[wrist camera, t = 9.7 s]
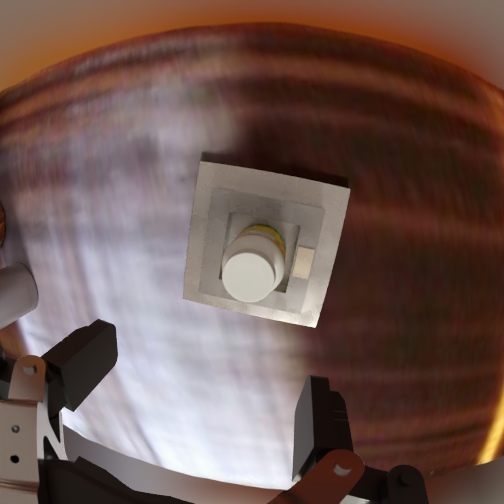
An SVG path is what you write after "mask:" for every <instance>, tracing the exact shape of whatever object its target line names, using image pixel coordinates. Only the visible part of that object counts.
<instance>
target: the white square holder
mask: <svg viewBox="0 0 504 504" xmlns="http://www.w3.org/2000/svg"><path fill="white" fill-rule="evenodd" d="M349 194H350V189H348V188H344V187H339V186H335V185H331V184H326V183H322V182H317V181H313V180H308V179H303V178H299V177H294V176H289V175H283V174H278V173H273V172H267V171H262V170H256V169H250V168H244V167H237V166H231V165H224V164H217V163H210V162H203V161H200V166H199V172H198V178H197V185H196V191H195V198H194V205H193V212H192V219H191V227H190V235H189V243H188V251H187V260H186V270H185V279H184V290H183V299H186V300H190V301H194V302H198V303H202V304H206V305H210V306H214V307H219V308H223V309H227V310H232V311H236V312H240V313H245V314H250V315H254V316H259V317H264V318H268V319H273V320H278V321H283V322H288V323H294V324H299V325H304V326H310V327H315V328H316V325H317V321H318V318H319V315H320V311H321V308H322V304H323V301H324V297H325V294H326V290H327V287H328V283H329V279H330V276H331V272H332V268H333V264H334V260H335V256H336V252H337V248H338V244H339V240H340V236H341V231H342V227H343V222H344V218H345V213H346V209H347V204H348V199H349ZM254 224H266V225H269V226H272V227H274V228H275V229H276V230H278V231H279V233H280V234H281V235H282V237H283V239H284V242H285V245H286V258H285V270H284V275H283V278H282V280H281V282H280V283H279V285H278V286H277V287H276V288H275V289H274V290H273V291H271V292H270V293H269V294H268V295H267V296H266V297H265V298H263V299H262V300H259V301H256V302H243V301H240V300H237V299H236V298H234V297H233V296H231V295H230V294H229V293H228V291H227V290H226V288H225V287H224V284H223V281H222V258H223V255H224V252H225V250H226V249H227V247H228V246H229V245H230V244H231V242H232V241H233V240H234V239H235V238H236V237H237V236H238V235H239V234H240V233H241V232H242V231H243V230H244V229H245V228H247V227H249V226H251V225H254Z"/></svg>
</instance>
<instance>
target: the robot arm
mask: <svg viewBox="0 0 504 504" xmlns="http://www.w3.org/2000/svg"><path fill="white" fill-rule="evenodd" d="M37 303H38V294H37V288H36V285H35V282H34V280H33V277H32V275H31V274H30V272H29V271H28V269H27V268H26V267H25V266H24V265H23V264H21V263H15V264H12V265H10V266H7V267H5V268H2V269H0V330H1V329H2V328H4V327H6V326H7V325H9V324H10V323H12V322H14V321H15V320H17V319H19V318H20V317H22V316H24V315H25V314H27V313H29V312H30V311H32V310H34V309H35V308H36V306H37ZM117 357H118V350H117V338H116V327H115V325H113V324H111V323H108V322H106V321H103V320H100V319H97V320H96V321H94V322H93V323H92V324H91V325H89V326H85V327H82V328H79V329H76V330H75V331H73V332H72V333H71V334H70V335H68V337H66V338H64V339H63V340H62V342H61V341H60V342H59V343H58V344H57V345H55V346H54V347H53V348H51V349H50V350H49V351H48V352H46V353H45V354H44V355H43V356H41V357H38V356H35V355H27V356H23V357H21V358H19V359H18V360H14V359H11V358H8V357H5V355H4V352H3V349H2V347H1V346H0V504H194V503H190V502H187V501H183V500H180V499H177V498H173V497H171V496H164V495H157V494H150V493H145V492H139V491H134V490H132V489H131V488H129V487H127V486H126V485H125V484H123V483H122V482H121V481H119V480H118V479H117V478H115V477H114V476H113V475H111V474H110V473H109V472H107V471H106V470H105V469H103V468H101V467H99V466H97V465H95V464H93V463H91V462H89V461H87V460H86V459H84V458H82V457H80V456H79V457H78V458H77V460H76V461H75V462H74V461H69V460H68V459H67V456H66V453H65V449H64V440H63V427H62V413H61V409H62V408H63V407H66V408H67V409H69V410H71V411H73V412H74V411H75V410H76V409H77V407H78V406H79V405H80V404H81V403H82V402H83V401H84V399H85V398H86V397H87V396H88V395H89V394H90V393H91V392H92V390H93V389H94V388H95V387H96V386H97V385H98V384H99V383H100V382H101V380H102V379H103V378H104V377H105V376H106V375H107V374H108V373H109V371H110V370H111V369H112V368H113V367H114V366H115V364H116V361H117ZM346 412H347V410H346V405H345V401H344V399H343V398H342V396H341V395H340V394H339V392H336V391H330V387H329V380H328V378H326V377H318V376H311V375H309V376H308V377H307V379H306V382H305V385H304V387H303V390H302V392H301V395H300V398H299V400H298V403H297V406H296V410H295V423H294V452H293V474H292V482H297V483H296V484H295V485H294V486H292V487H291V488H290V489H289V490H287V491H283V492H282V493H280V494H279V495H277V496H276V497H275V498H273V499H272V500H271V501H270V502H268V503H267V504H429V502H428V498H427V492H426V488H425V483H424V479H423V476H422V474H421V473H420V472H419V471H418V470H417V469H416V468H414V467H412V466H410V465H398V466H396V467H394V468H392V469H391V470H390V471H389V472H387V471H382V470H378V469H374V468H371V467H368V466H366V465H364V462H363V460H362V459H361V457H360V456H359V455H357V454H356V453H354V451H353V445H352V439H351V433H350V427H349V421H348V416H347V413H346Z"/></svg>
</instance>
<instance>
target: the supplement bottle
mask: <svg viewBox="0 0 504 504" xmlns="http://www.w3.org/2000/svg"><path fill="white" fill-rule="evenodd" d="M285 258H286V245H285V242H284V239H283V237H282V235H281V234H280V233H279V231H278V230H276V229H275V228H274V227H272V226H269V225H266V224H254V225H251V226H249V227H247V228H245V229H244V230H243V231H242V232H241V233H240V234H239V235H238V236H237V237H236V238H235V239H234V240H233V241H232V242H231V244H230V245H229V246H228V247H227V249H226V250H225V252H224V255H223V258H222V281H223V284H224V287H225V288H226V290H227V291H228V293H229V294H230V295H231V296H233V297H234V298H236V299H237V300H240V301H243V302H256V301H259V300H262V299H263V298H265V297H266V296H267V295H268V294H269V293H270V292H271V291H273V290H274V289H275V288H276V287H277V286H278V285H279V283H280V282H281V280H282V278H283V275H284V270H285Z"/></svg>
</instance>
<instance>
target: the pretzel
mask: <svg viewBox="0 0 504 504" xmlns="http://www.w3.org/2000/svg"><path fill="white" fill-rule="evenodd" d="M4 237H5V216H4V211H3V207H2V205H1V204H0V248H1V246H2V243H3V239H4Z"/></svg>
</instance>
